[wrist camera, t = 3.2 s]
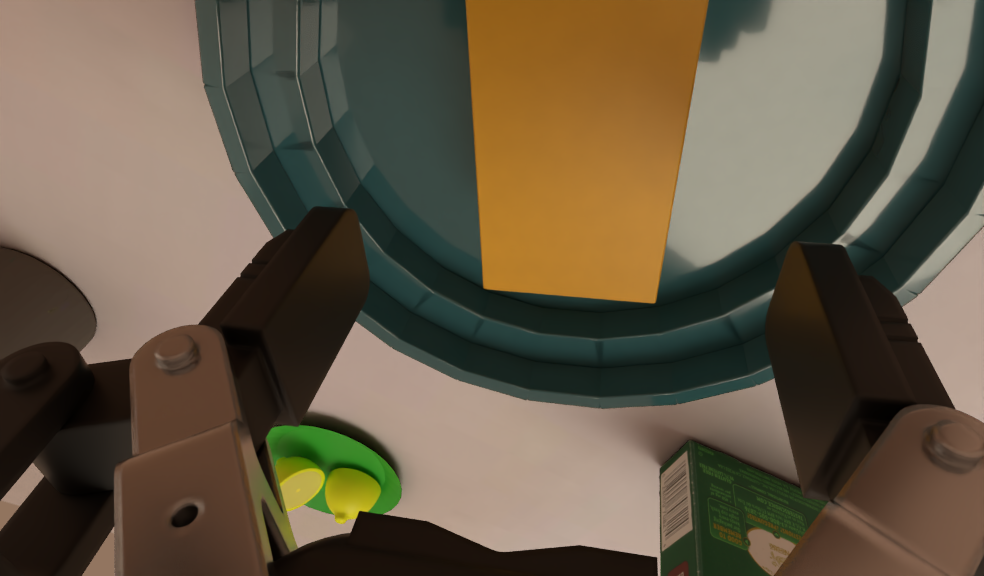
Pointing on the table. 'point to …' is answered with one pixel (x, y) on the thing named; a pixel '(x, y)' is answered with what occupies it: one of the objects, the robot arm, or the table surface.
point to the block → (579, 139)
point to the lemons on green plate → (331, 473)
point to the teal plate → (698, 196)
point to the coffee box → (727, 516)
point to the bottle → (39, 306)
